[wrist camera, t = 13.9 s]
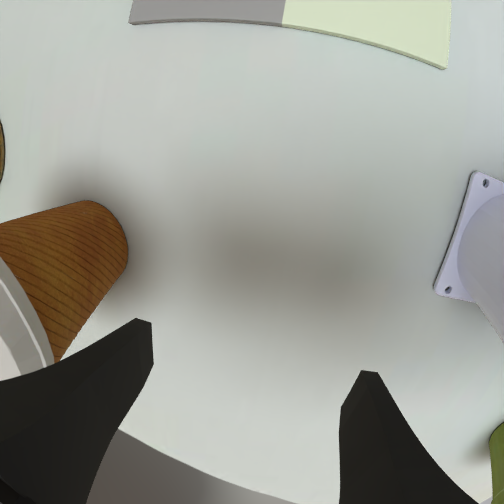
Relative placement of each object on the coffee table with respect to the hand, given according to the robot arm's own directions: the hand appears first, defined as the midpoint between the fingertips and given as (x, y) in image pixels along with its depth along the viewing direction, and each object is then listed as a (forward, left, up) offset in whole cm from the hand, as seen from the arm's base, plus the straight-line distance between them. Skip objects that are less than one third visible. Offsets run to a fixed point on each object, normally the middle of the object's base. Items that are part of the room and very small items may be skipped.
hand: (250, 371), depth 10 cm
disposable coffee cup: (+13, +2, -10) cm, 16 cm away
